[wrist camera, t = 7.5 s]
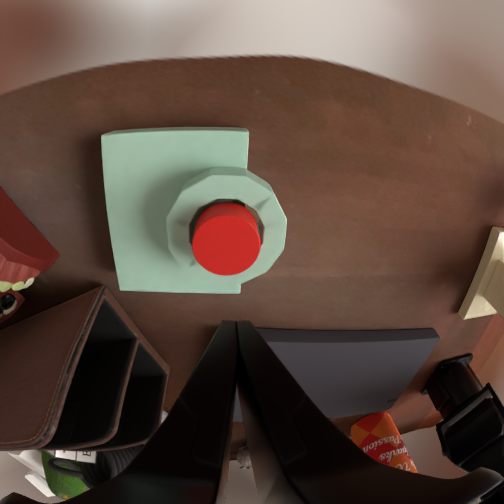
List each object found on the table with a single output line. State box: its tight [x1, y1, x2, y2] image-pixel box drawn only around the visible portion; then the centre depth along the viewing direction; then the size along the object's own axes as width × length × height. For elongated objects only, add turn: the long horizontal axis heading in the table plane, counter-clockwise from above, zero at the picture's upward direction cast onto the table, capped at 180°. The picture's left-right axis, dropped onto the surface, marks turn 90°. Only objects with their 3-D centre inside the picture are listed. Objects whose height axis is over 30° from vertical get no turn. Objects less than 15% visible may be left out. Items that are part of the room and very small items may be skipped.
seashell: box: [237, 443, 252, 469], centre depth 33 cm, size 4×8×4 cm, turn 133°
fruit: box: [41, 450, 87, 500], centre depth 26 cm, size 8×8×12 cm
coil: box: [48, 444, 144, 489], centre depth 27 cm, size 7×20×9 cm, turn 24°
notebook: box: [233, 328, 440, 422], centre depth 27 cm, size 13×2×21 cm
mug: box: [7, 450, 56, 497], centre depth 26 cm, size 12×9×10 cm
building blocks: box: [45, 450, 97, 464], centre depth 24 cm, size 5×5×8 cm
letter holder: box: [0, 285, 170, 452], centre depth 18 cm, size 10×20×14 cm, turn 111°
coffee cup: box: [351, 412, 418, 473], centre depth 28 cm, size 8×8×15 cm
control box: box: [101, 127, 287, 294], centre depth 17 cm, size 10×10×4 cm
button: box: [192, 202, 261, 276], centre depth 15 cm, size 3×3×2 cm
